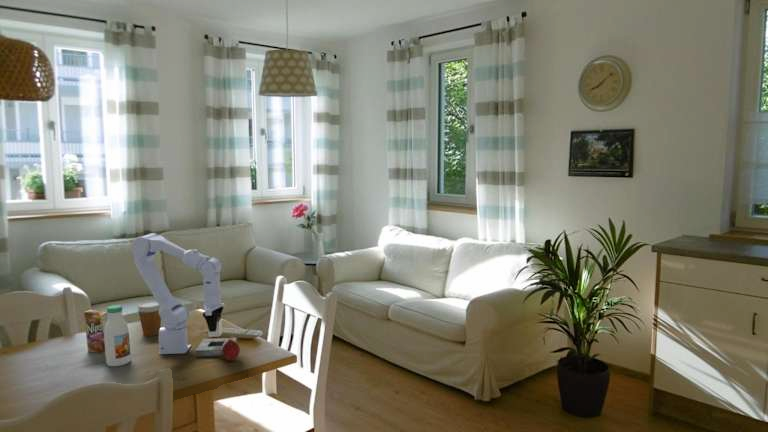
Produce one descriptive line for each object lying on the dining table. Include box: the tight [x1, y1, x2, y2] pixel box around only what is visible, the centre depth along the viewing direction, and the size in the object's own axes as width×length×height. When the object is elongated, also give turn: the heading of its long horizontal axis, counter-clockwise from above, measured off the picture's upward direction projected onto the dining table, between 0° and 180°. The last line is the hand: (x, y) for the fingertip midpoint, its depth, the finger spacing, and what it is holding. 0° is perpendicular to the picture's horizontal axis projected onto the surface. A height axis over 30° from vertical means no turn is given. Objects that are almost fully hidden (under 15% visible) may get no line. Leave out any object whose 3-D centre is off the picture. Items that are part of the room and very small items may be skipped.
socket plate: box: [194, 337, 237, 358], centre depth 203 cm, size 12×12×2 cm
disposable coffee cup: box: [136, 300, 162, 337], centre depth 223 cm, size 10×10×12 cm
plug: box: [207, 316, 223, 338], centre depth 201 cm, size 4×4×6 cm
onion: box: [222, 337, 241, 362], centre depth 193 cm, size 6×6×8 cm
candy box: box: [83, 308, 108, 355], centre depth 203 cm, size 9×4×15 cm, turn 69°
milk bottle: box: [104, 304, 132, 367], centre depth 192 cm, size 8×8×20 cm
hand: (214, 329), depth 201 cm, fingers closed on plug, 4 cm apart
